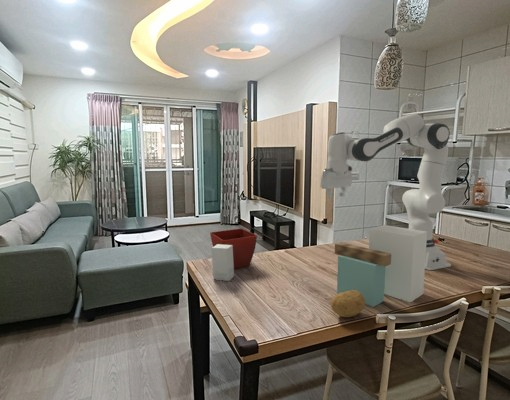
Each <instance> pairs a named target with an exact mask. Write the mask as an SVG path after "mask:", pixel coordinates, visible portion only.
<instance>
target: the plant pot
mask: <svg viewBox="0 0 510 400" xmlns="http://www.w3.org/2000/svg"><path fill="white" fill-rule="evenodd" d="M257 239H258V235H257V234H255V233H253V232H251V231H248V230H246V229H244V228H235V229H227V230H226V229H225V230H219V231H218V230H217V231H211V232H210V240H211V244H212V247H214V246H215V245H217V244H222V245H233V264H234V270H237V269H240V268H246V267H249V266H250V265H251V262H252V260H253V257H254V254H255V250H256V244H257Z"/></svg>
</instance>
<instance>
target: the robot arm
mask: <svg viewBox="0 0 510 400" xmlns="http://www.w3.org/2000/svg"><path fill="white" fill-rule="evenodd" d="M450 135H451V133H450V128H449V126H448V125H446V124H445V123H441V122H436V123H425V122H424V119H423V117H422V116H421V115H420V114H418V113H409V114H405V115H403V116H400V117H397V118H395V119H393V120H392V121H390V122H388V123H387V124H385V125H384V127H383V131H382V133H381V134H379V135H377V136H375V137H373V138H371V137H364V138H361V139H355V138H352V137H351V136H350V135H348V134H347V133H346V132H338V133H333V134H331V135H330V136H329V138H328V142H327V156H328V157H327V163H326V164H327V165H326V168H324V170H323V171H322V174H321V177H320V188H321V189H324V190H326V194H327V198H328V199H332V198H333V196H334V195H333V194H332V190H333V189H338V188H339V189H341V190H340V192H339V197H345V193H346V190H347V187H348V188H349V187H351V186H352V183H353V173H352V172H353V169H354V167H353V166H351V165H350V164H349V163H348V161H353V162H354V161H355V162H358V161H360V162H370V161H371V160H373V159H374V158H375V157H376V156H377V155H378V154H379V153H380V152H381V151H383V150H385V149H386V148H388V147H390V146H393V145H394V144H398V143H401V142H403V141H406V143H407V144H408V145H410V146H412V147H421V148H423V152H424V153H423V154H422V158H421V161H420V164H419V168H418V171H417V175H416V176H417V177H416V178H417V179H418V181H419V188H412V189H411V188H410V189H408V190H406V191H405V192H404V193H403V194H402V197H401V198H402V199H401V200H402V204H403V205H404V207H405V210H406V214H407V217H408V219H407V220H408V229H413V230H420V231H426V232H427V242H426V258H425V270H429V271H434V270H439V269H444V268H450V267H452V264H451V263H450V262H448V261H447V257H446V254H445V252H444V251H442V250H441V249H440V248H439V247H437V245H438V244H439V243H440V242H441V241H440V239H436V238H435V239H434V238H433V237H434V236H433V235H434V234H433V232H434V223H433V221H432V219H431V218H430V214H439V213H440V212H442V211H443V210H444V208H445V205H446V199H445V198H444V197H445V196H443V195H444V194H443V193H442V192H443V191H442V180H443V176H444V172H445V169H446V165H447V161H448V157H449V146H448V142H449V140H450ZM436 244H437V245H436Z"/></svg>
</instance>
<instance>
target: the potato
mask: <svg viewBox="0 0 510 400" xmlns="http://www.w3.org/2000/svg"><path fill="white" fill-rule="evenodd" d="M365 306H366V304H365V299H364V297H363V295H362V294H361V293H360V292H359V291H357V290H350V291H346V292H341V293H339V294H337V293H336V295H335V296H334V297H332V299H331V303H330V307H331V309H332V310H333V312H334V313H335V314H337V315H338V316H339V317H341V318H351V317H355V316H357V315H359V314H361V312H362V311H364V308H365Z"/></svg>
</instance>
